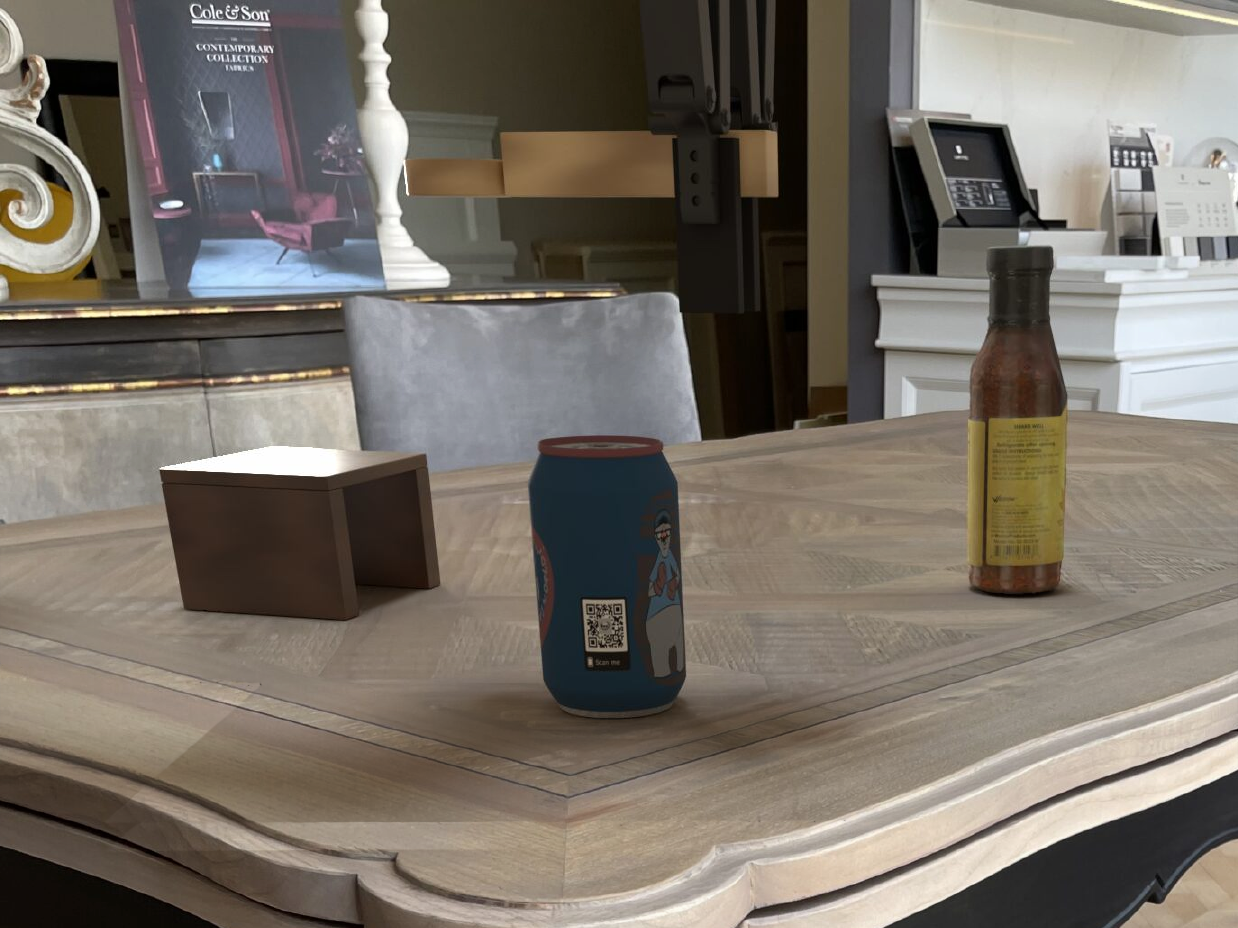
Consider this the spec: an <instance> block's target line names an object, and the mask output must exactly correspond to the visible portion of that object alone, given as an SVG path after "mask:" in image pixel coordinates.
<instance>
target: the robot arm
mask: <svg viewBox="0 0 1238 928" xmlns="http://www.w3.org/2000/svg"><path fill="white" fill-rule="evenodd" d="M638 7H639V9H638V10H639V18H640V19H639V20H640V28H641V39H642V48H643V61H644V69H645V79H646V89H647V100H648V105H649V109H650V111H651V112H652V114H653V115H647V126H648V129H649V131H650V132H651V134H652V135H677V138H672V150H673V173H674V196H675V197H674V215H675V216H674V217H675V236H676V237H675V240H676V261H677V263H676V264H677V285H678V306H679V310H678V311H679V313H681V314H682V313H683V314H685V313H687V314H737V315H738V314H739V315H740V314H744V313H745V312H761V278H760V277H761V276H760V275H761V273H760V232H759V229H760V228H759V197H741V186H740V149H739V138H734V137H731V138H720V137H719V135H726V134H728V132H729V130H769V131H775V132H777V133H778V128H779V127H778V122H777V121H775V122H774V121H773V117H774V116H773V115H774V112H775V111H774V109H775V106H774V82H775V81H774V80H775V44H776V43H775V42H776V41H775V38H776V0H638Z"/></svg>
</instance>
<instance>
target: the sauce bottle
mask: <svg viewBox="0 0 1238 928" xmlns="http://www.w3.org/2000/svg"><path fill="white" fill-rule="evenodd" d="M985 258H986V260H985V262H986V263H985V266H986V267H985V270H986V272H987V275H988V277H989V278H988V279H989V286H988V287H989V288H988V289H989V290H988V293H989V294H988V299H989V300H988V316H987V318H986V320H987V323H988V324H987V330H986V335H985V336H984V340H983V342H982V345H981V347H980V349H979V351H978V352H977V354H976V356H975V358H974V360H973V361H972V364H971V367H970V374H969V385H968V386H969V388H968V389H969V417H968V419H967V563H968V564H969V565H970V568H969V571H968V581H969V584H970V587H971V588H974V589H976V588H977V590H980V591H983V592H985V593H989V592H990V594H992V593H993V594H1000V593H1004V594H1003V595H1024V594H1023V593H1032V594H1037V592H1038V593H1043V592H1049V591H1053V590H1055V589H1056V588H1058V587H1059V585H1060V582H1061V574H1062V564H1063V560H1064V554H1065V553H1064V550H1065V549H1064V547H1065V544H1064V543H1065V538H1064V537H1065V520H1066V519H1065V516H1066V486H1067V449H1068V448H1067V447H1068V444H1067V441H1068V440H1067V439H1068V438H1067V437H1068V436H1067V435H1068V399H1069V398H1068V392H1067V391H1068V390H1067V387H1066V383H1065V380H1064V375H1063V370H1062V366H1061V362H1060V359H1059V353H1058V350H1057V345H1056V342H1055V336H1054V333H1053V329H1052V325H1051V315H1050V296H1051V295H1050V294H1051V293H1050V292H1051V283H1050V282H1051V276H1052V273H1053V270H1054V267H1055V260H1054V248H1053V246H1052V245H1050V244H1045V245H1044V244H1042V245H1041V244H1040V245H1038V244H1037V245H1036V244H1035V245H998V246H989V247H988V248H986V257H985ZM1052 589H1053V590H1052ZM1048 590H1049V591H1048Z"/></svg>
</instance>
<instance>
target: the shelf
mask: <svg viewBox="0 0 1238 928" xmlns="http://www.w3.org/2000/svg"><path fill="white" fill-rule="evenodd" d="M427 456H428V455H427V453H426V452H407V451H385V450H384V451H383V450H361V449H337V448H315V447H314V448H313V447H291V446H290V447H289V446H268V447H264V448H259V449H253V450H248V451H242V452H238V453H233V454H227V455H223V456H217V457H212V458H206V459H202V460H197V461H191V462H185V463H182V464H181V463H180V464H176V465H170V466H165V467H161V468H159V477H160V482H161V489H162V495H163V500H164V506H165V510H166V511H165V512H166V517H167V522H168V528H169V531H170V532H169V534H170V539H171V545H172V550H173V551H172V552H173V555H174V561H175V567H176V571H177V579H178V584H179V589H180V595H181V600H182V605H183V609H184V610H187V611H188V610H190V611H203V610H207V611H206V612H218V611H220V612H219V613H232V612H233V613H234V614H248V615H249V614H250V615H263V616H278V617H292V618H293V617H295V618H305V619H306V618H307V619H309V618H310V619H321V620H337V621H348V620H349V619H354V618H355V617H357V616H360V612H359V611H360V610H359V605H358V596H357V588H356V585H360V586H361V585H362V586H378V587H394V588H410V589H425V590H427V589H428V590H429V589H433V588H435V587H437V586H441V584H442V583H441V575H440V565H439V557H438V546H437V538H436V528H435V520H434V510H433V502H432V501H433V500H432V493H431V483H430V472H429V467H428V457H427Z"/></svg>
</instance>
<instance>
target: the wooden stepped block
mask: <svg viewBox="0 0 1238 928" xmlns="http://www.w3.org/2000/svg"><path fill="white" fill-rule="evenodd" d="M499 135H500V149H501V159H497V158H496V159H493V158H459V157H457V158H456V157H455V158H454V157H453V158H451V157H450V158H449V157H447V158H446V157H443V158H442V157H439V158H436V157H435V158H434V157H430V158H429V157H426V158H425V157H424V158H405V159H404V160H403V166H404V167H403V169H404V179H405V185H406V194H407V197H410V198H411V197H413V198H455V199H457V198H461V199H462V198H463V199H465V198H469V199H470V198H474V199H475V198H476V199H478V198H479V199H481V198H483V199H485V198H487V199H494V198H495V199H497V198H499V199H501V198H503V199H504V198H505V199H506V198H675V196H674V173H673V150H672V138H677V135H652V134H651V132H650V130H615V131H614V130H611V131H610V130H605V131H601V130H600V131H599V130H597V131H596V130H595V131H589V130H588V131H502V132H499ZM719 137H720V138H731V137H734V138H739V149H740V186H741V197H758V198H778V197H779V161H778V160H779V159H778V158H779V154H778V131H777V132H775V131H769V130H729V132H728V134H726V135H719Z"/></svg>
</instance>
